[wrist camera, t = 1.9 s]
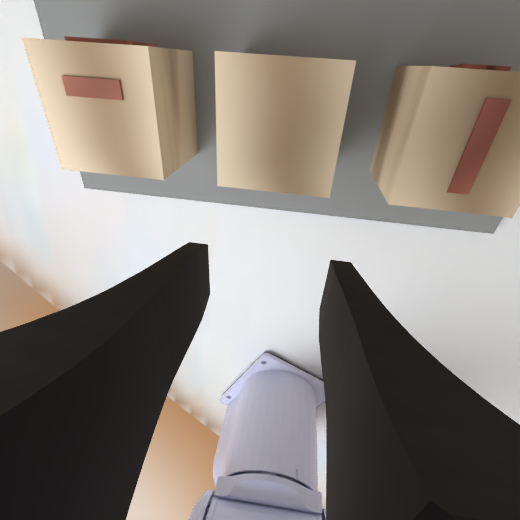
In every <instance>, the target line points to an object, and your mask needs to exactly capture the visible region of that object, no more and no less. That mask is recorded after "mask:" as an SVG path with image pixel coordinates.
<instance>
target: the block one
mask: <svg viewBox="0 0 520 520" xmlns="http://www.w3.org/2000/svg"><path fill="white" fill-rule="evenodd" d="M510 70H511V67H510V66H495V65H480V64H459V65H450V67H439V66H398V65H397V66H396V70H395V74H394V77H393V81H392V85H391V89H390V93H389V97H388V101H387V105H386V108H385V112H384V116H383V120H382V124H381V128H380V132H379V136H378V139H377V143H376V147H375V151H374V155H373V159H372V163H371V167H370V172H371V174H372V176H373V178H374V179H375V181H376V183H377V185H378V187H379V189H380V190H381V192H382V194H383V196H384V198H385V199H386V201H387V203H388V205H397V206H407V207H416V208H425V209H435V210H444V211H454V212H463V213H472V214H482V215H491V216H500V217H510V218H512V217H513V215H514V213H515V212H516V210H517V208H518V206H519V205H520V72H513V71H510Z"/></svg>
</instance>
